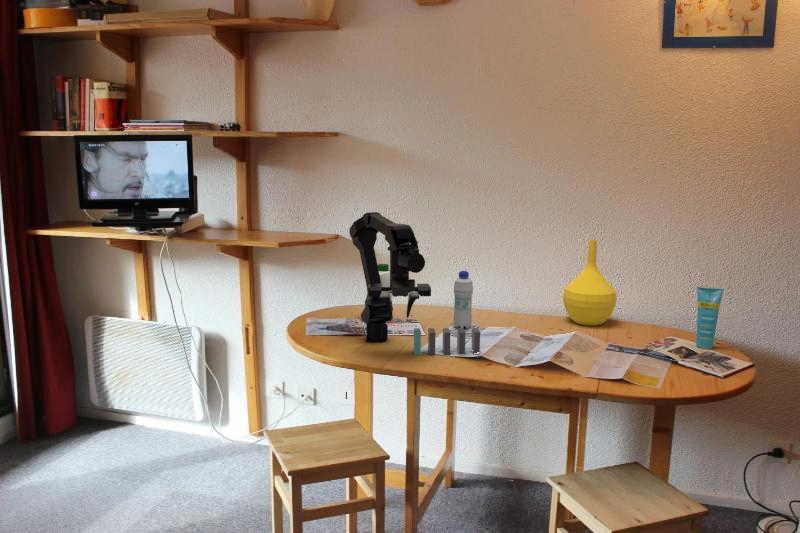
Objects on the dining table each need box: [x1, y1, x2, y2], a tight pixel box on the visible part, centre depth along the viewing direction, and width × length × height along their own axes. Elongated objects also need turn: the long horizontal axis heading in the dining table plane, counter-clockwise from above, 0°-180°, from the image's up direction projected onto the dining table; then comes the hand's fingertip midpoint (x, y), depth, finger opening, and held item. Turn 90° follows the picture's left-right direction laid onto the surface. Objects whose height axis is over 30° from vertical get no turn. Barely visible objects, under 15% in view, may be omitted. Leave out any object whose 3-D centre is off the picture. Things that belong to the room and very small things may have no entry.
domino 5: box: [471, 327, 481, 353], centre depth 207 cm, size 2×5×7 cm, turn 2°
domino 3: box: [442, 327, 451, 356], centre depth 207 cm, size 2×5×7 cm, turn 2°
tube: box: [695, 286, 724, 350], centre depth 212 cm, size 7×5×19 cm, turn 73°
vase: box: [562, 238, 617, 327], centre depth 240 cm, size 18×18×30 cm
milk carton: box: [366, 263, 394, 321], centre depth 242 cm, size 9×9×20 cm
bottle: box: [453, 270, 474, 330], centre depth 233 cm, size 7×7×20 cm
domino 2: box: [427, 327, 436, 356], centre depth 206 cm, size 2×5×7 cm, turn 2°
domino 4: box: [456, 327, 466, 355], centre depth 207 cm, size 2×5×7 cm, turn 2°
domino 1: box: [413, 327, 422, 356], centre depth 206 cm, size 2×5×7 cm, turn 2°
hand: (399, 317), depth 205 cm, fingers open, 5 cm apart
